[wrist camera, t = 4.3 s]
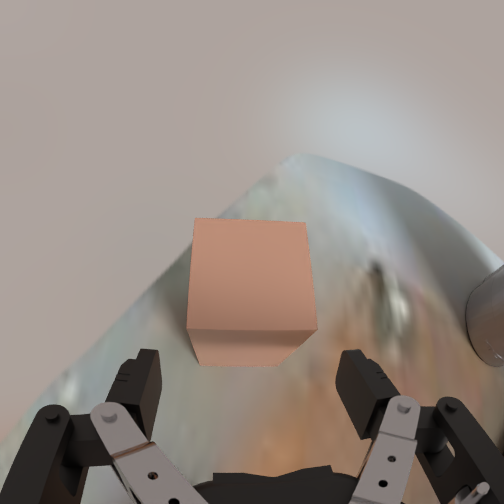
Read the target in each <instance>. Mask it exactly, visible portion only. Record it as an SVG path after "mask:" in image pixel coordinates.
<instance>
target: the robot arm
mask: <svg viewBox="0 0 504 504" xmlns="http://www.w3.org/2000/svg"><path fill="white" fill-rule="evenodd" d="M466 322H467V328H468V333H469V336H470V340H471V342H472V345H473V347H474V349H475V350H476V352H477V354H478V355H479V356H480V358H481V359H482V360H483V361H484V362H486V363H487V364H489V365H491V366H494V367H499V366H503V365H504V265H502V266H501V267H500V268H499V269H497V270H496V271H495V272H493V273H492V274H491V275H489V276H488V277H487V278H485V280H484V283H483V284H481V285H480V286H478V287H477V288H476V289H475V290H474V291H473V292H472V294H471V295H470V297H469V300H468V303H467V310H466ZM336 389H337V392H338V394H339V396H340V398H341V400H342V402H343V404H344V406H345V408H346V410H347V412H348V414H349V417H350V419H351V421H352V423H353V425H354V427H355V429H356V431H357V433H358V435H359V437H360V439H361V440H363V439H368V438H371V440H372V442H371V444H370V447H369V449H368V451H367V454H366V456H365V458H364V461H363V463H362V465H361V467H360V470H359V472H358V474H357V476H356V477H353V476H350V475H347V474H342V473H334V472H333V471H332V469H331V466H330V465H327V466H321V467H313V468H305V469H301V470H298V471H295V472H291V473H288V474H285V475H281V476H278V477H267V476H260V475H253V474H247V473H213V480H212V481H207V482H204V483H200V484H197V485H195V486H193V487H192V486H191V485H190V484H189V482H188V481H187V480H186V479H185V478H184V477H183V476H182V475H181V473H180V472H179V471H178V470H177V469H176V468H175V466H174V465H173V464H172V463H171V462H170V460H169V459H168V458H167V457H166V456H165V454H164V453H163V452H162V451H161V449H160V448H159V447H158V446H157V444H156V443H154V442H153V441H152V442H150V440H151V436H152V431H153V426H154V422H155V417H156V413H157V408H158V404H159V399H160V395H161V390H162V376H161V368H160V359H159V352H158V350H152V349H140V351H139V354H138V356H137V358H136V359H128V360H127V361H126V362H124V363H123V364H122V365H121V367H120V369H119V371H118V374H117V375H116V378H115V381H114V382H113V384H112V387H111V389H110V391H109V394H108V396H107V398H106V401H105V403H101V404H99V405H97V406H95V407H94V408H93V409H92V411H91V413H90V414H83V415H70V414H69V412H68V410H67V409H66V408H65V407H63V406H61V405H47V406H45V407H43V408H41V409H40V410H39V411H38V412H37V414H36V416H35V418H34V420H33V422H32V424H31V426H30V428H29V430H28V432H27V434H26V436H25V438H24V440H23V442H22V444H21V446H20V449H19V451H18V453H17V455H16V457H15V459H14V462H13V464H12V466H11V468H10V471H9V473H8V475H7V478H6V480H5V483H4V485H3V488H2V490H1V493H0V504H80V503H81V498H82V494H83V490H84V485H85V481H86V477H87V473H88V469H89V466H105V465H110V466H111V468H112V470H113V471H114V473H115V475H116V476H117V478H118V480H119V481H120V483H121V484H122V486H123V488H124V489H125V491H126V492H127V494H128V495H129V497H130V498H131V500H132V502H133V503H134V504H405V503H403V502H401V500H402V497H403V494H404V491H405V488H406V484H407V481H408V477H409V474H410V470H411V466H412V462H413V458H414V454H416V456H417V458H418V460H419V462H420V464H421V466H422V468H423V470H424V472H425V474H426V475H427V477H428V479H429V481H430V483H431V485H432V487H433V489H434V491H435V493H436V495H437V497H438V499H439V501H440V503H441V504H504V457H503V455H502V454H501V453H500V451H499V450H498V448H497V447H496V446H495V444H494V443H493V442H492V440H491V439H490V438H489V436H488V435H487V434H486V432H485V431H484V430H483V428H482V427H481V426H480V424H479V423H478V422H477V421H476V419H475V418H474V417H473V415H472V414H471V413H470V412H469V410H468V409H467V408H466V407H465V405H464V404H463V403H462V402H461V401H460V400H458V399H456V398H453V397H443V398H441V399H439V401H438V402H437V404H436V406H435V407H423V406H420V405H419V403H418V402H417V401H416V400H415V399H413V398H411V397H408V396H403V395H400V393H399V392H398V390H397V389H396V388H395V386H394V385H393V384H392V382H391V381H390V379H389V378H388V377H387V375H386V374H385V373H384V371H383V370H382V368H381V367H380V366H379V364H377V363H376V362H374V361H373V360H371V359H367V358H366V357H365V355H364V354H363V353H362V351H361V350H360V349H357V350H344V351H343V352H342V354H341V358H340V363H339V367H338V371H337V375H336ZM448 441H449V442H450V444H451V445H452V447H453V449H454V451H455V457H454V456H453V455H452V453H451V451H450V450H449V448H448V447H447V445H446V444H447V442H448Z"/></svg>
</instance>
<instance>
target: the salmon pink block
mask: <svg viewBox="0 0 504 504" xmlns="http://www.w3.org/2000/svg"><path fill="white" fill-rule="evenodd" d="M186 329H187V331H188V334H189V337H190V340H191V342H192V345H193V348H194V350H195V353H196V356H197V358H198V361H199V363H200V366H240V367H257V366H278V365H279V364H280V363H281V362H282V361H283V360H285V359H286V358H287V357H288V356H289V355H290V354H291V353H293V352H294V351H295V350H296V349H297V348H298V347H299V346H300V345H301V344H303V343H304V342H305V341H306V340H307V339H308V338H309V337H310V336H311V335H312V334H313V333H314V332H315V331H317V330H318V329H317V318H316V307H315V297H314V288H313V279H312V270H311V261H310V253H309V245H308V237H307V230H306V223H303V222H284V221H263V220H240V219H213V218H211V219H210V218H195V224H194V233H193V244H192V255H191V267H190V280H189V294H188V309H187V326H186Z"/></svg>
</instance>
